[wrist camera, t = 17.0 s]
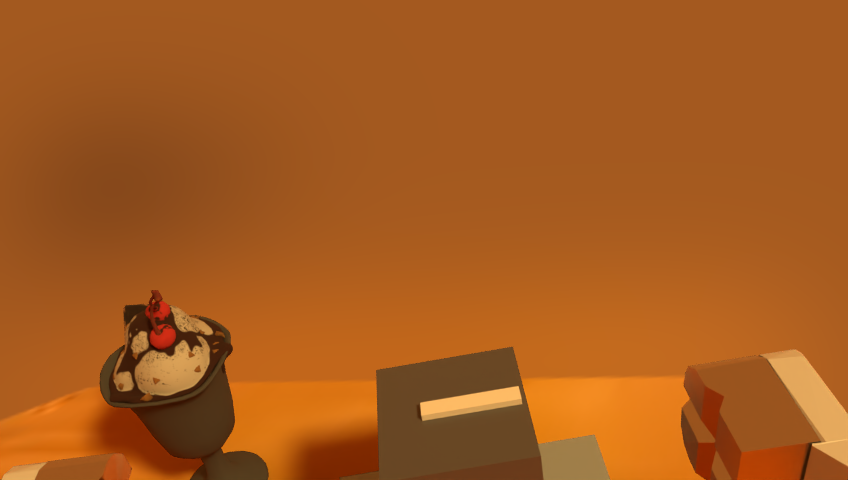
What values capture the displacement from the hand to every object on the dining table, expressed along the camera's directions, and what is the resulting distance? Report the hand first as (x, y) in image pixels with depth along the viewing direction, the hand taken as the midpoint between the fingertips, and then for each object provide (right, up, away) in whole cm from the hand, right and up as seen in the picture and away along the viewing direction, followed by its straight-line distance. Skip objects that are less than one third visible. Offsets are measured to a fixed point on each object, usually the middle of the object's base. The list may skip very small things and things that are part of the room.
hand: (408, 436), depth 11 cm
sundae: (-11, -12, +32) cm, 36 cm away
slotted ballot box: (+3, -12, +24) cm, 27 cm away
